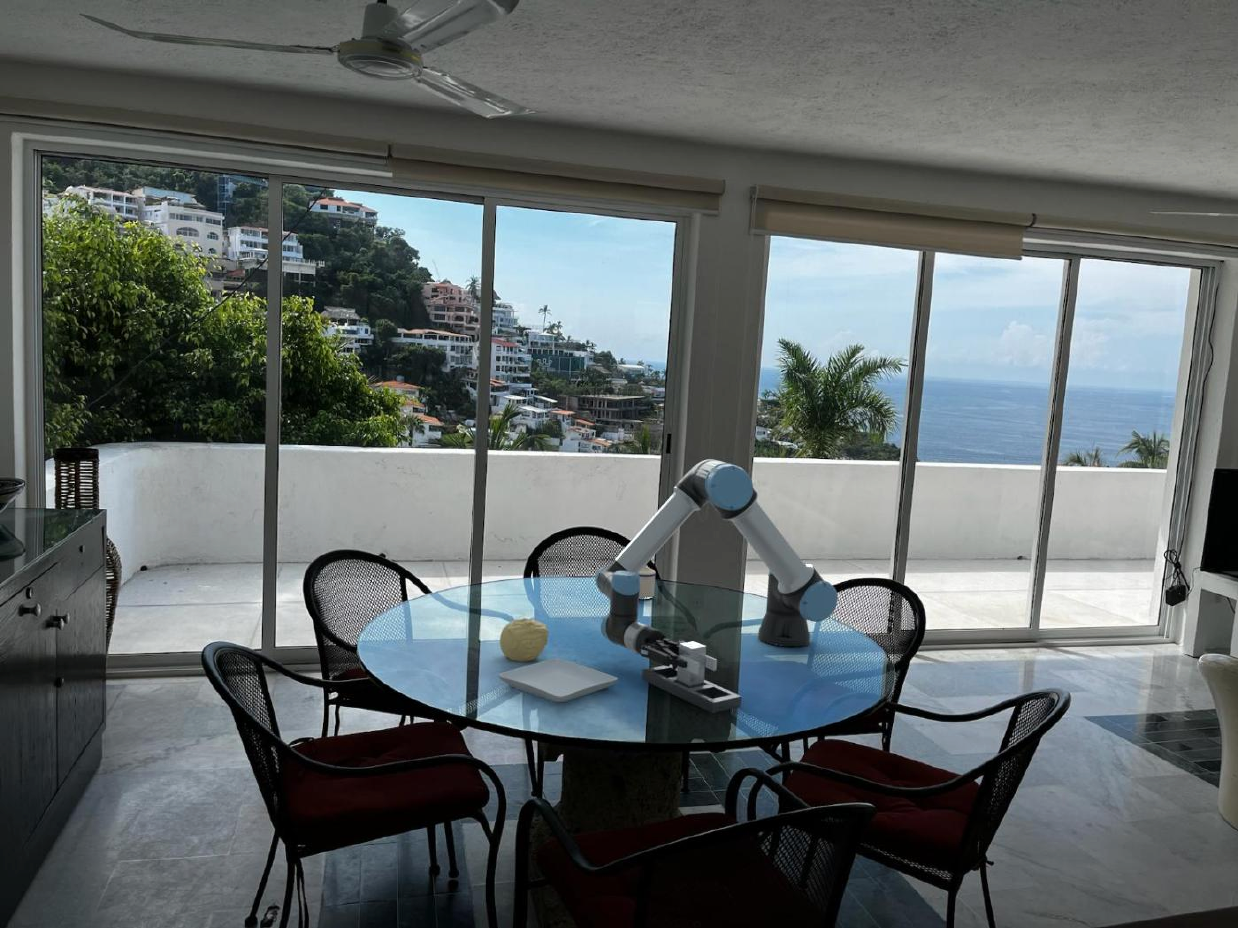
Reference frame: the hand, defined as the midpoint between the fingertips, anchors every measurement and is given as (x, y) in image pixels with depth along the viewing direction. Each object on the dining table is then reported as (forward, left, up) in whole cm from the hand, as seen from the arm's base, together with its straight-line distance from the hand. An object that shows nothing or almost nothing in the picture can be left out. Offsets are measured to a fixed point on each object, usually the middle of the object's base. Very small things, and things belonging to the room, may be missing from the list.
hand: (706, 666), depth 226 cm
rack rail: (0, -5, -8) cm, 10 cm away
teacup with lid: (-47, -85, -8) cm, 97 cm away
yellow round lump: (+22, -46, -8) cm, 52 cm away
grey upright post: (0, -5, -8) cm, 10 cm away
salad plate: (+26, -23, -9) cm, 36 cm away
